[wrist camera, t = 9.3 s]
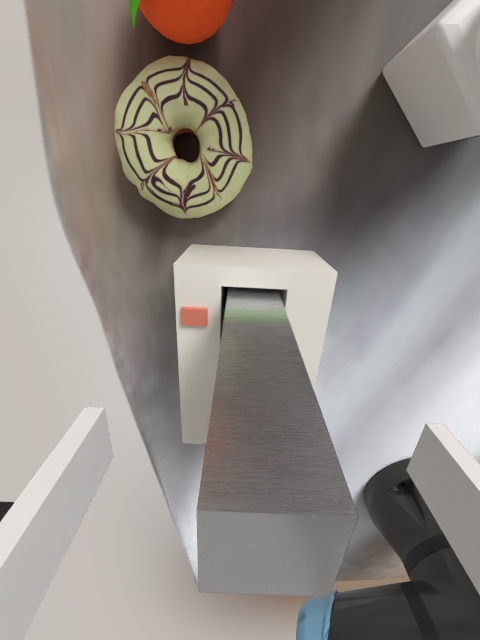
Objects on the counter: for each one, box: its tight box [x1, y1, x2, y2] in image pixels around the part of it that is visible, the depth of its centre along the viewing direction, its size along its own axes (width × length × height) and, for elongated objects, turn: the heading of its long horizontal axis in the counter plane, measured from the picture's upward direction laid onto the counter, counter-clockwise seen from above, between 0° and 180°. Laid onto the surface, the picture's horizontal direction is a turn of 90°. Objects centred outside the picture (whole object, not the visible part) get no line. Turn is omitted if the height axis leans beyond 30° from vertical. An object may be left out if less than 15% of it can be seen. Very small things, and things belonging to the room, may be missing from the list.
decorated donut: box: [114, 55, 252, 219], centre depth 23 cm, size 10×11×4 cm
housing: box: [173, 244, 338, 444], centre depth 28 cm, size 12×18×8 cm, turn 177°
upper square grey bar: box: [197, 287, 358, 597], centre depth 16 cm, size 4×4×18 cm
